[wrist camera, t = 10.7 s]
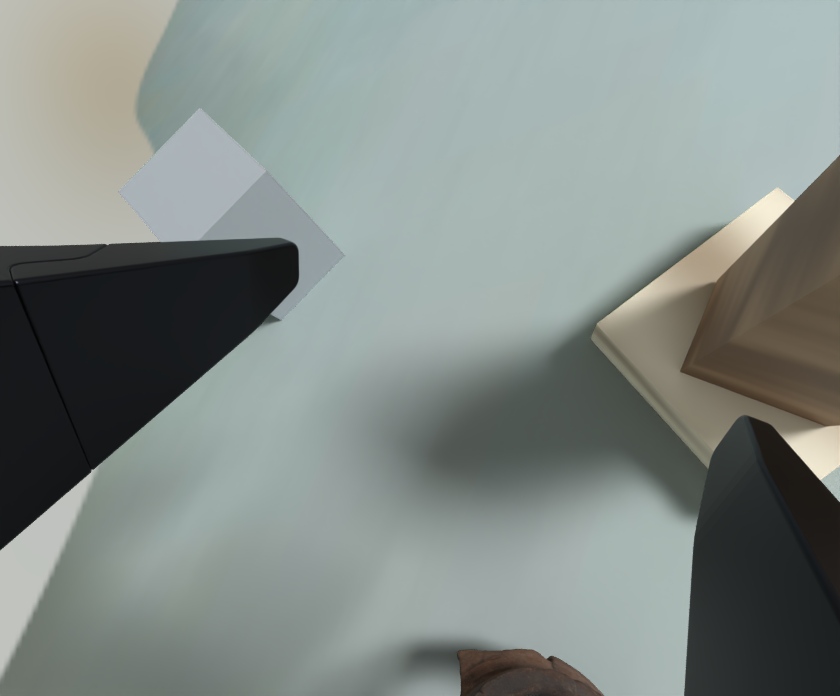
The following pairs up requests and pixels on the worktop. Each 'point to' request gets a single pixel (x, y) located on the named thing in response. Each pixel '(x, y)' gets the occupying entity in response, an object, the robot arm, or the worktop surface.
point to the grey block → (225, 201)
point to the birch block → (672, 336)
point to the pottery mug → (520, 675)
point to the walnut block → (781, 312)
